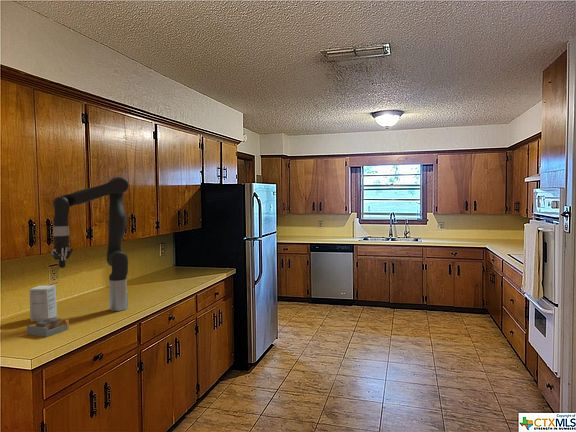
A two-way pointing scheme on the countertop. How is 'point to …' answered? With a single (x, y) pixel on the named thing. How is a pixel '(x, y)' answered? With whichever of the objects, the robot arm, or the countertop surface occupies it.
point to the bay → (46, 330)
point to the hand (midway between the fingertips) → (62, 267)
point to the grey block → (50, 323)
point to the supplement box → (43, 303)
